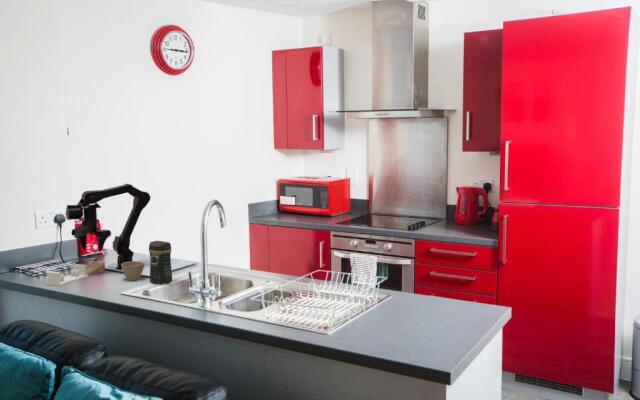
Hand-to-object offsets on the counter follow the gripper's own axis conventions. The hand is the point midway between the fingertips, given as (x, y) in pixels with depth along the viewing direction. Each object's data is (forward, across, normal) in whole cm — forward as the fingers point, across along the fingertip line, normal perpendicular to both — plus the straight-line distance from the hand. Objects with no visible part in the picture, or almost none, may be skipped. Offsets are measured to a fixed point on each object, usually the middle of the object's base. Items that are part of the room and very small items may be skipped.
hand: (92, 250), depth 285 cm
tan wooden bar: (+11, 0, 0) cm, 11 cm away
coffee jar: (+11, +40, -3) cm, 42 cm away
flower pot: (+11, +25, -3) cm, 28 cm away
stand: (+10, 0, -16) cm, 19 cm away
